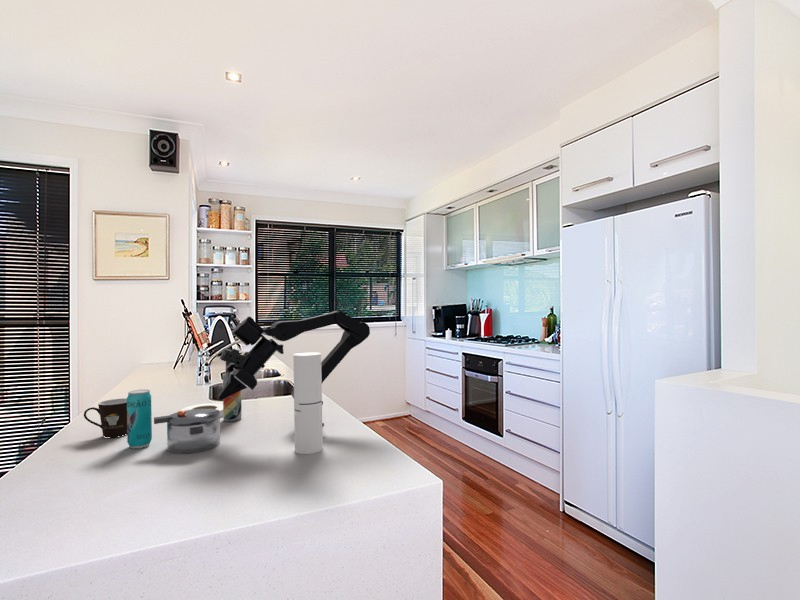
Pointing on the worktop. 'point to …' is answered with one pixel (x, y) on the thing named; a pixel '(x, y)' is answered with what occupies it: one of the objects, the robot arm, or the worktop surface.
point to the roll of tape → (206, 407)
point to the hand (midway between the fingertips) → (219, 398)
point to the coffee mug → (111, 417)
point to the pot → (193, 437)
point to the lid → (189, 417)
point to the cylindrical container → (308, 402)
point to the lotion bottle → (231, 403)
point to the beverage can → (139, 418)
